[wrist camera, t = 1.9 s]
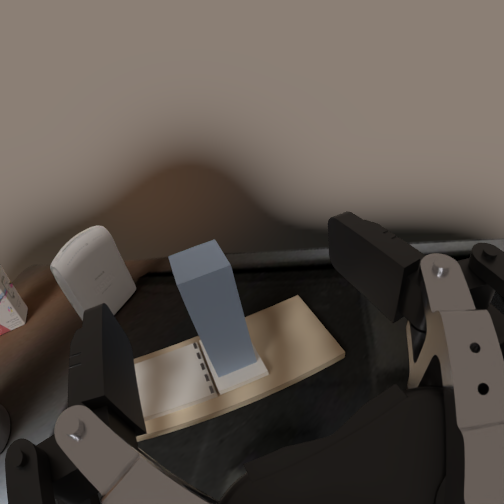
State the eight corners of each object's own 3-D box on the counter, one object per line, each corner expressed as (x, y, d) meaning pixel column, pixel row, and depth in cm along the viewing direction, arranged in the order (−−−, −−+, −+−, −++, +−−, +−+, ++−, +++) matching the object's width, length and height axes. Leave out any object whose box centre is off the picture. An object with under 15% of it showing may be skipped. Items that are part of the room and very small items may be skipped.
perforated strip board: (108, 448, 23) (98, 441, 22) (100, 376, 31) (92, 367, 29) (344, 357, 28) (345, 346, 27) (298, 300, 36) (297, 289, 35)
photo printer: (98, 336, 36) (53, 264, 29) (82, 327, 38) (39, 259, 31) (142, 288, 43) (110, 218, 36) (124, 283, 45) (93, 216, 38)
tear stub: (220, 394, 26) (173, 301, 19) (200, 344, 32) (160, 249, 25) (268, 374, 27) (244, 273, 20) (242, 327, 33) (215, 229, 26)
